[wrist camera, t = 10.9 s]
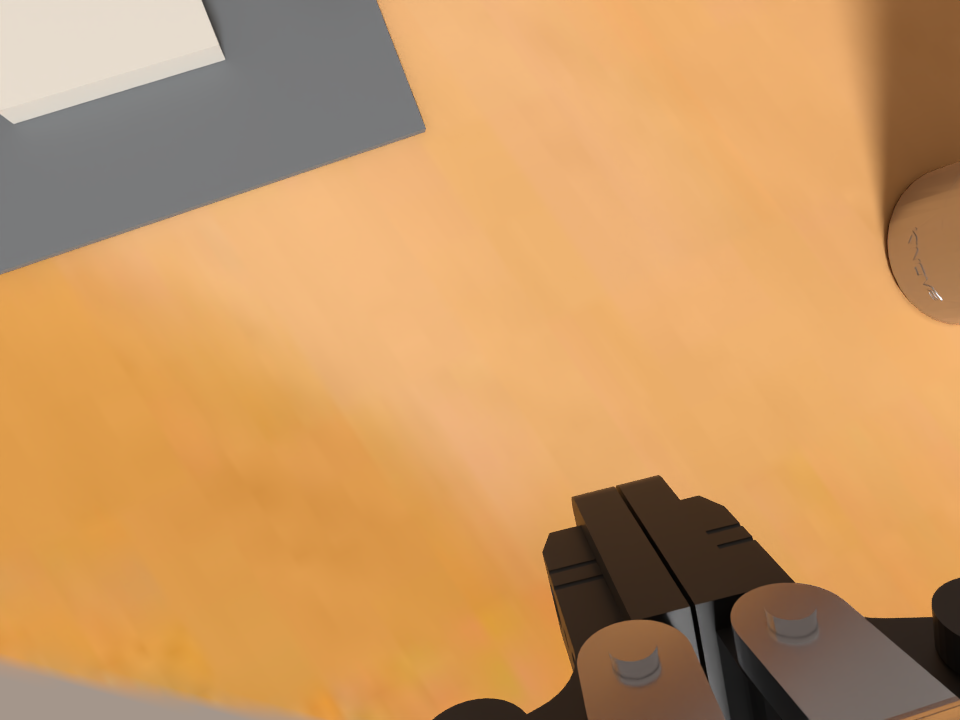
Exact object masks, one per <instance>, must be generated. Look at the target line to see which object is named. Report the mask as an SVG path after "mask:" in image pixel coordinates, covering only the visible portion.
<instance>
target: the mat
mask: <svg viewBox="0 0 960 720" xmlns="http://www.w3.org/2000/svg"><path fill="white" fill-rule="evenodd" d="M202 2H203V4H204V7H205V9H206V12H207V14H208V17H209V20H210V22H211V25H212V27H213V30H214V32H215V35H216V37H217V40H218V42H219V45H220V47H221V50H222V52H223V55H224V57H225V60H223V61H220V62H217V63H213V64H210V65H207V66H203V67H200V68H197V69H193V70H190V71H187V72H184V73H180V74H177V75H174V76H170V77H167V78H164V79H161V80H157V81H154V82H151V83H147V84H144V85H141V86H137V87H134V88H131V89H128V90H124V91H121V92H118V93H114V94H111V95H108V96H105V97H101V98H98V99H95V100H91V101H88V102H85V103H81V104H78V105H75V106H72V107H68V108H65V109H62V110H58V111H55V112H52V113H49V114H45V115H42V116H39V117H35V118H32V119H29V120H26V121H22V122H19V123H16V124H13V123H12V122H10V121H9V120H7V119H6V118H5V117H3V116H2V115H0V274H3V273H6V272H9V271H12V270H15V269H18V268H21V267H24V266H27V265H30V264H33V263H36V262H39V261H42V260H45V259H48V258H51V257H54V256H57V255H60V254H63V253H66V252H69V251H72V250H74V249H77V248H80V247H83V246H86V245H89V244H92V243H95V242H98V241H101V240H104V239H107V238H110V237H113V236H116V235H119V234H122V233H125V232H128V231H131V230H134V229H137V228H140V227H143V226H146V225H149V224H152V223H155V222H158V221H161V220H164V219H167V218H170V217H173V216H176V215H179V214H182V213H185V212H188V211H191V210H194V209H196V208H199V207H202V206H205V205H208V204H211V203H214V202H217V201H220V200H223V199H226V198H229V197H232V196H235V195H238V194H241V193H244V192H247V191H250V190H253V189H256V188H259V187H262V186H265V185H268V184H271V183H274V182H277V181H280V180H283V179H286V178H289V177H292V176H295V175H298V174H301V173H304V172H307V171H310V170H313V169H316V168H318V167H321V166H324V165H327V164H330V163H333V162H336V161H339V160H342V159H345V158H348V157H351V156H354V155H357V154H360V153H363V152H366V151H369V150H372V149H375V148H378V147H381V146H384V145H387V144H390V143H393V142H396V141H399V140H402V139H405V138H408V137H411V136H414V135H417V134H420V133H423V132H425V129H426V128H425V125H424V123H423V120H422V118H421V115H420V112H419V110H418V107H417V105H416V102H415V99H414V97H413V94H412V92H411V89H410V86H409V84H408V81H407V79H406V76H405V74H404V71H403V68H402V66H401V63H400V61H399V58H398V55H397V53H396V50H395V48H394V45H393V43H392V40H391V37H390V35H389V32H388V30H387V27H386V24H385V22H384V19H383V17H382V14H381V11H380V9H379V6H378V4H377V1H376V0H202Z"/></svg>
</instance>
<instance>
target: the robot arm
mask: <svg viewBox="0 0 960 720" xmlns="http://www.w3.org/2000/svg"><path fill="white" fill-rule="evenodd" d="M887 240H888V256H889V260H890V264H891V268H892V272H893V275H894V277H895V279H896V281H897V283H898V285H899V287H900V289H901V290H902V292H903V293H904V294H905V296H906V297H907V298H908V300H909V301H910V302H911V303H912V304H913V305H914V306H915V307H916V308H918V309H919V310H920V311H921V312H922V313H924V314H926V315H928V316H929V317H931V318H933V319H935V320H938V321H941V322H944V323H948V324H960V161H959V162H956V163H953V164H951V165H948V166H945V167H942V168H940V169H937V170H934V171H932V172H929V173H926V174H925V175H923V176H922V177H920V178H919V179H917V180H916V181H914V182H913V183H912V184H911V185H910V186H909V187H908V188H907V190H906V191H905V192H904V193H903V194H902V196H901V197H900V199H899V201H898V203H897V204H896V206H895V208H894V211H893V214H892V217H891V220H890V223H889V231H888V239H887ZM572 506H573V511H574V516H575V521H576V525H577V526H576V527H572V528H568V529H564V530H560V531H556V532H552V533H550V534H549V536H548V539H547V541H546V544H545V547H544V549H543V552H542V553H543V557H544V561H545V565H546V570H547V574H548V578H549V583H550V587H551V591H552V595H553V600H554V604H555V608H556V612H557V617H558V621H559V625H560V629H561V633H562V636H563V640H564V643H565V646H566V649H567V653H568V656H569V659H570V663H571V666H572V669H573V674H572V676H571V678H570V680H569V682H568V683H567V684H566V686H565V687H564V688H563V689H562V691H561V692H560V693H559V694H558V695H556V696H555V697H554V698H553V699H552V700H550V701H549V702H547V703H546V704H544V705H543V706H541V707H539V708H537V709H536V710H534V711H532V712H530V713H528V714H526V713H525V712H524V711H523V710H522V709H521V708H519V707H517V706H516V705H514V704H512V703H510V702H507V701H504V700H499V699H489V698H484V699H475V700H470V701H466V702H463V703H460V704H457V705H455V706H453V707H451V708H449V709H447V710H445V711H444V712H442V713H441V714H439V715H438V716H437V717H435V718H434V719H433V720H960V578H958V579H954V580H952V581H949V582H947V583H945V584H944V585H942V586H941V587H939V588H938V590H937V591H936V592H935V593H934V595H933V598H932V615H933V617H920V618H867V617H863V616H862V615H861V614H859V613H858V612H857V611H856V610H855V609H854V608H852V607H851V606H850V605H849V604H848V603H847V602H845V601H844V600H843V599H841V598H840V597H839V596H837V595H835V594H834V593H832V592H830V591H828V590H825V589H822V588H820V587H816V586H812V585H807V584H801V583H795V582H794V581H793V580H792V579H791V578H790V577H789V576H788V575H787V573H786V572H785V571H784V570H783V569H782V568H781V567H780V566H779V565H778V564H777V563H776V562H775V561H774V559H773V558H772V557H771V556H770V555H769V554H768V553H767V552H766V551H765V550H764V549H763V548H762V547H761V545H760V544H759V543H758V542H757V541H756V540H753V538H752V536H751V535H750V534H749V533H748V531H747V530H746V529H745V528H744V527H743V526H740V523H739V522H738V521H737V520H736V519H735V517H734V516H733V515H732V514H731V513H730V512H729V511H728V510H727V509H726V508H725V507H724V506H722V505H720V504H717V503H715V502H713V501H710V500H708V499H706V498H704V497H701V496H695V497H691V498H687V499H683V500H680V499H679V498H678V497H677V496H676V494H675V493H674V492H673V491H672V489H671V488H670V487H669V486H668V485H667V483H666V482H665V481H664V480H663V478H662V477H661V476H659V475H657V476H653V477H649V478H645V479H641V480H637V481H633V482H629V483H625V484H621V485H617V486H616V488H615V487H610V488H606V489H602V490H598V491H594V492H590V493H586V494H582V495H578V496H574V497H572Z"/></svg>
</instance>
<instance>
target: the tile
mask: <svg viewBox="0 0 960 720" xmlns="http://www.w3.org/2000/svg"><path fill="white" fill-rule="evenodd" d="M223 60H225V57H224V55H223V52H222V50H221V47H220V45H219V42H218V40H217V37H216V35H215V32H214V30H213V27H212V25H211V22H210V20H209V17H208V14H207V12H206V9H205V7H204V4H203V2H202V0H0V115H2V116H3V117H5V118H6V119H7V120H9V121H10V122H12V123H13V124H16V123H19V122H22V121H26V120H29V119H32V118H35V117H39V116H42V115H45V114H49V113H52V112H55V111H58V110H62V109H65V108H68V107H72V106H75V105H78V104H81V103H85V102H88V101H91V100H95V99H98V98H101V97H105V96H108V95H111V94H114V93H118V92H121V91H124V90H128V89H131V88H134V87H137V86H141V85H144V84H147V83H151V82H154V81H157V80H161V79H164V78H167V77H170V76H174V75H177V74H180V73H184V72H187V71H190V70H193V69H197V68H200V67H203V66H207V65H210V64H213V63H217V62H220V61H223Z"/></svg>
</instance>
